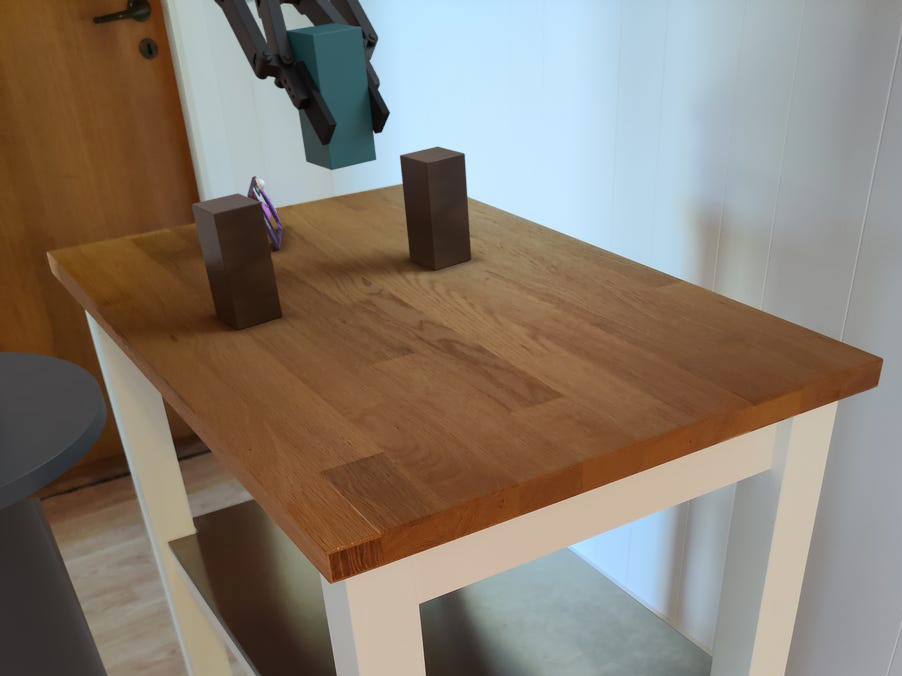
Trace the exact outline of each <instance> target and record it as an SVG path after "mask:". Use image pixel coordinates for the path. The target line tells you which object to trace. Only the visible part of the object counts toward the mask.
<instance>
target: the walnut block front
mask: <svg viewBox="0 0 902 676" xmlns="http://www.w3.org/2000/svg"><path fill="white" fill-rule="evenodd" d="M261 202H262V201H261ZM261 202H259V201H256V200H254V199H251V198H249V197H248V196H246V195H244V194H241V193H233V194H229V195H225V196H224V195H223V196H220V197H217V198H212V199H208V200H202V201H199V202H195V203H194V202H193V203H191V209H192V213H193V217H194V223H195V226H196V231H197V235H198V239H199V244H200V248H201V254H202V257H203V263H204V266H205V271H206V275H207V279H208V283H209V288H210V292H211V297H212V301H213V306H214V311H215V315H216V318H217V319H219V320H221V321H222V322H224V323H226V324H228V325H229V326H231V327H232V328H234V329H236V330H243V329H246V328H250V327H253V326H256V325H259V324H263V323H265V322H270V321H273V320H276V319H279V318H282V317H283V311H282V306H281V301H280V296H279V290H278V285H277V278H276V273H275V268H274V264H273V257H272V253H271V246H270V242H269V241H270V240H269V235H268V233H267V230H266V224H265V219H264V214H263V208H262V203H261Z"/></svg>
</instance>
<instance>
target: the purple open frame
mask: <svg viewBox="0 0 902 676" xmlns="http://www.w3.org/2000/svg"><path fill="white" fill-rule="evenodd" d="M265 186H266V183H265V181H264V180H263V179H262V178H257V176H256V175H254V176H252V178H251V181H250V184H249V187H248V191H247V196H246V197H249V198H251V199H254V200H256V201H259V202H261V203H262V208H263V214H264V219H265V224H266V230H267V235H268V238H269V240H271V242H272V245H273V246H274V248H275V250H276V251H279V250H280V249H281V244H282V237H283V230H284V227H283V224H282V223H281V219H280V217H279V214H278V211H277V209H276V207H275V205H274V204H273V201H272V200H271V198H270V196H269V194H266V192H265V191H264V188H266V187H265ZM258 197H262V199H263V200H264V202H265V203H264V202H263V201H262V200H260V199H259V198H258ZM271 217H273V219H274V221H275V223H276V225H277V227H278V229H277V231H276V229H275V228H274V225H273V223H272V222H271Z"/></svg>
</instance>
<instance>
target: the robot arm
mask: <svg viewBox="0 0 902 676" xmlns="http://www.w3.org/2000/svg"><path fill="white" fill-rule="evenodd" d="M213 2H214V3H215V4H217V6H218V7H219V8H220V9H221V10H222V13H223V14H224V16H225V18H226V21H227V23H229V26H230V28H231V30H232V32H233V34H234V36H235V38H236V40H237V42H238V44H239V46H240V48H241V50H242V51H243V55H244V56H245V58H246V60H247V62H248V64H249V66H250V67H251V70H252V71H253V74H254V75H255V76H256V78H257V79H259V80H261V81H262V80H264V81H265V80H267V78H268V77H270V78H274V81H273V84H274V86H276V87H277V89H281V90H283V89H284V90H285V92H286V94H287V96H288V98H289V99H290V101H291V103H292V105H293V107H295V109H296V110H297V111H298V110H301V109H304V111H305V113H306V115H307V117H308V119H309V121H310V122H311V124H312V126H313V128H314V130H315V132H316V134H317V136H318V138H319V140H320V142H321V143H322V145H327V144H330V141H331V139H332V136H333V133H334V131H335V128H336V125H337V123H336V121H335V119H334V117H333V116H332V114H331V112H330V110H329V108H328V106H327V104H326V102H325V100H324V98H323V96H322V95H321V93H320V91H319V89H318V87H317V85H316V83H315V82H314V80H313V78H312V76H311V74H310V72H309V70H308V68H307V66H306V64H305V63H304V61H300V62H296V65H294V64H293V61H294V57H293V53H292V49H291V45H290V41H289V37H288V33H287V29H288V28H287V25H286V22H285V17H284V14H283V10H282V6H281V5H283V4H285V5H286V4H288V5H292V6H293V7H294V9H295V10H296V11H297V13H298V14H299V15H301V16H304V15H305V16H306V17H307V19H308V20H309V21H310V23H311V24H312V25H313V26H319V25H325V24H331V23H336V24H343V25H350V26H357V27H361V29H362V38H363V46H364V55H365V64H366V73H367V82H368V90H369V99H370V108H371V117H372V126H373V134H375V135H377V134H381V133H383V131H384V128H385V126H386V124H387V121H388V119H389V117H390V115H391V111H390V110H389V107H388V106H387V104H386V102H385V100H384V98H383V96H382V94H381V92H380V90H379V88H380V86H381V81H380V78H379V76H378V74H377V72H376V70H375V68H374V66H373V65H372V62H371V60H372V58H373V55H374V53H375V49H376V46H377V44H378V42H379V36H378V34H377V32H376V30H375V29H374V26H373V24H372V23H371V21H370V19H369V17H368V14H367V13H366V11H365V10H364V8H363V6H362V4H361V2H360V1H359V0H254V4H255V8H256V13H257V17H258V18H259V19H260V21H261V24H262V29H263V32H264V35H263V32H262V31H261V29H260V26H259V24H258V23H257V22H258V21H256V18H255V17H254V14H253V13H252V11H251V9H250V7H249V5H248V2H247V1H246V0H213Z"/></svg>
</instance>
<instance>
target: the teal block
mask: <svg viewBox="0 0 902 676" xmlns="http://www.w3.org/2000/svg"><path fill="white" fill-rule="evenodd" d="M287 33H288V37H289V41H290V45H291V49H292V53H293V57H294V61H293V64H294V65H296V62H300V61H304V63H305V64H306V66H307V68H308V70H309V72H310V74H311V76H312V78H313V80H314V82H315V83H316V85H317V87H318V89H319V91H320V93H321V95H322V96H323V98H324V100H325V102H326V104H327V106H328V108H329V110H330V112H331V114H332V116H333V117H334V119H335V121H336V123H337V125H336V128H335V131H334V133H333V136H332V139H331V141H330V144H327V145H322V143H321V142H320V140H319V138H318V136H317V134H316V132H315V130H314V128H313V126H312V124H311V122H310V121H309V119H308V117H307V115H306V113H305V111H304V109H301V110H298V109H297V111H298V116H299V118H298V119H299V123H300V130H301V138H302V142H303V150H304V156H305V162H306V163H309V164H312V165H316V166H318V167H321V168H324V169H328V170H330V171H334V170H338V169H343V168H347V167H352V166H356V165H359V164H364V163H369V162H373V161H377V154H376V144H375V143H376V142H375V136H374V134H375V133H374V131H373V126H372V117H371V108H370V99H369V90H368V82H367V73H366V64H365V55H364V46H363V38H362V29H361V27H357V26H350V25H343V24H336V23H331V24H325V25H319V26H314V25H313V26H307V27H300V28H295V29H288V30H287Z"/></svg>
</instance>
